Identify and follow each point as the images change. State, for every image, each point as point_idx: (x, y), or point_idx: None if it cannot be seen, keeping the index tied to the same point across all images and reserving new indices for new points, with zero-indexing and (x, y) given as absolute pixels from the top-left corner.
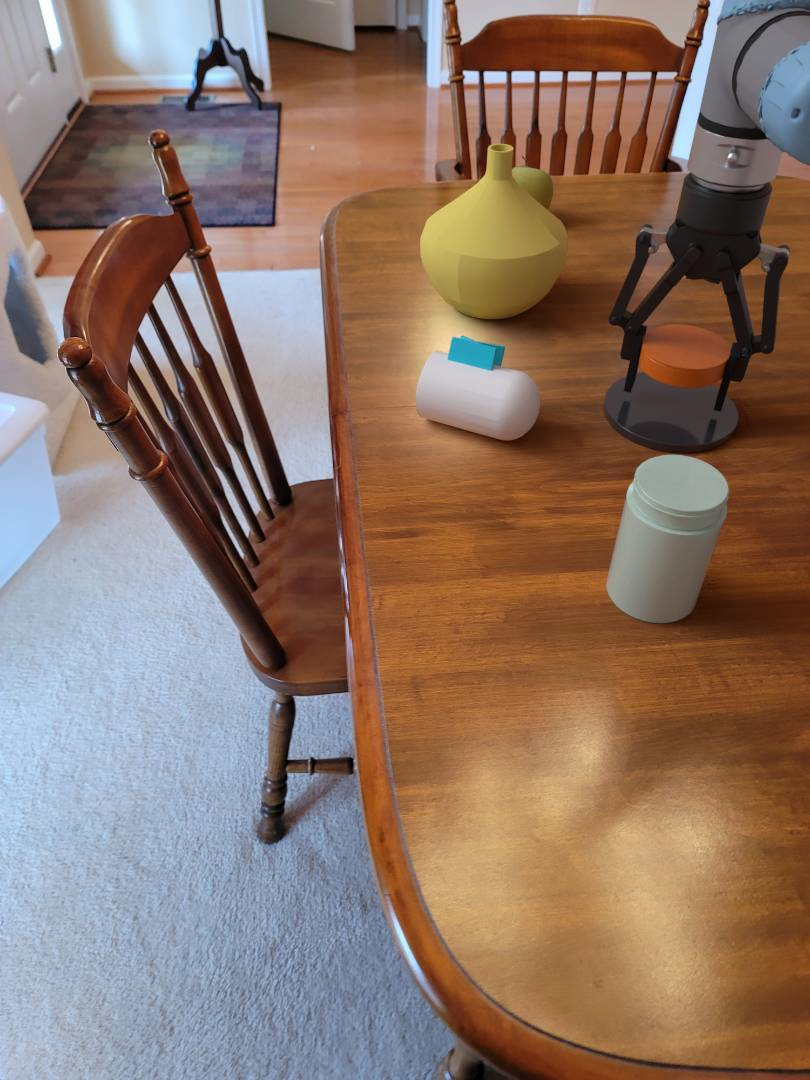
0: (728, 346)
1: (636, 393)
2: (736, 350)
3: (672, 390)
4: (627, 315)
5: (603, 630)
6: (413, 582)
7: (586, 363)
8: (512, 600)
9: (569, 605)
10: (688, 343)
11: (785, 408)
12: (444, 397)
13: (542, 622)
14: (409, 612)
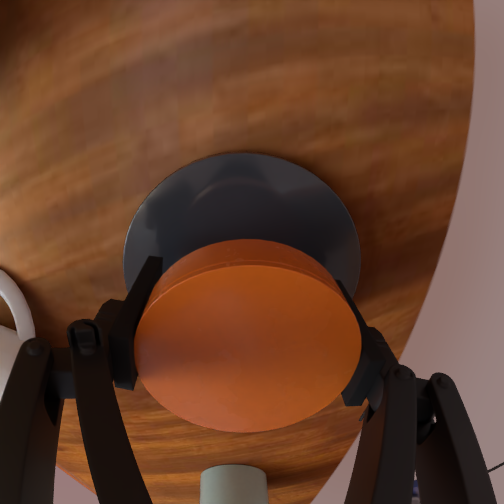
0: (359, 346)
1: (175, 252)
2: (366, 387)
3: (245, 225)
4: (67, 389)
5: None
6: (86, 473)
7: (76, 137)
8: (146, 484)
9: (181, 486)
10: (255, 361)
11: (434, 210)
12: None
13: (169, 491)
14: None
